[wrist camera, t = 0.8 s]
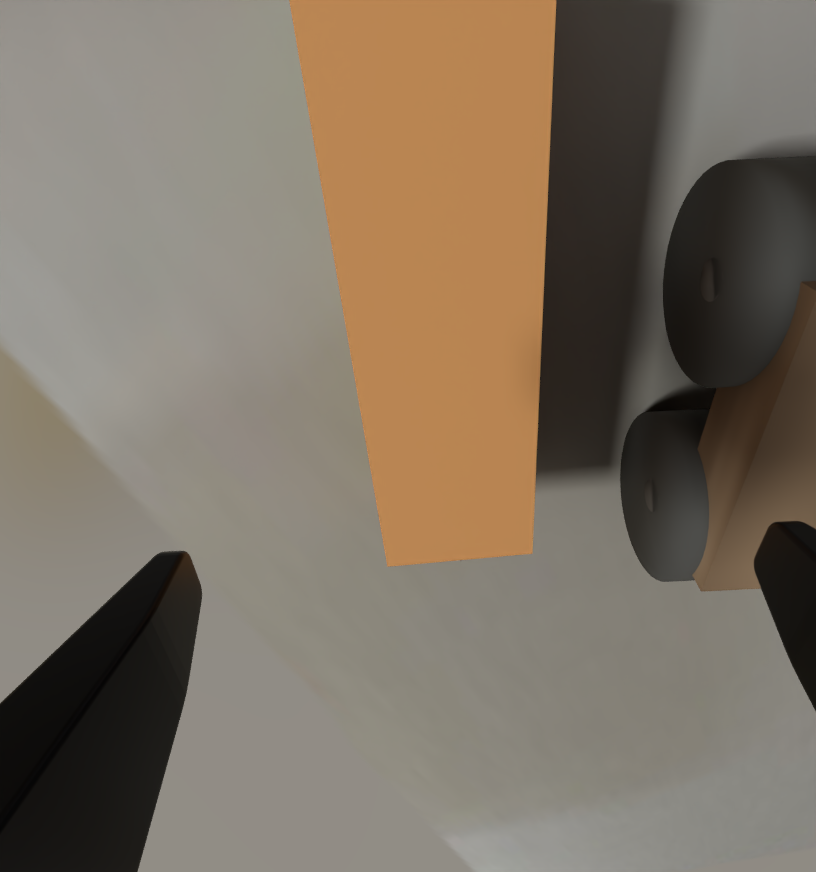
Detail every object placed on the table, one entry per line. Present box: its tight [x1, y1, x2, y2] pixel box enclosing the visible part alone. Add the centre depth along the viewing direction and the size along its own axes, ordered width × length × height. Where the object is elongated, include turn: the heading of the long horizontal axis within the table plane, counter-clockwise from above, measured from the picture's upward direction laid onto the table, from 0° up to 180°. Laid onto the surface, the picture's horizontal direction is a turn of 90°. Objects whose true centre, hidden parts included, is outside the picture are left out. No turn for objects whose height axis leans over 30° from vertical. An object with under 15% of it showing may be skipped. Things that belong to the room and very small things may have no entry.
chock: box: [289, 0, 556, 566], centre depth 17 cm, size 5×16×5 cm, turn 5°
